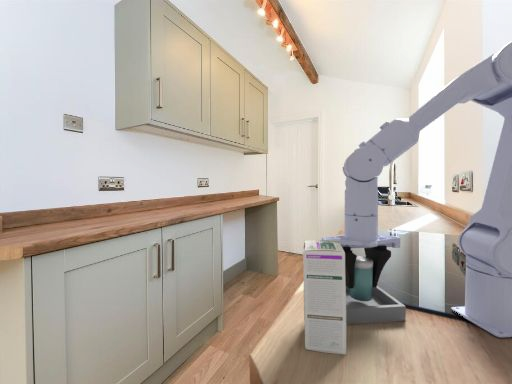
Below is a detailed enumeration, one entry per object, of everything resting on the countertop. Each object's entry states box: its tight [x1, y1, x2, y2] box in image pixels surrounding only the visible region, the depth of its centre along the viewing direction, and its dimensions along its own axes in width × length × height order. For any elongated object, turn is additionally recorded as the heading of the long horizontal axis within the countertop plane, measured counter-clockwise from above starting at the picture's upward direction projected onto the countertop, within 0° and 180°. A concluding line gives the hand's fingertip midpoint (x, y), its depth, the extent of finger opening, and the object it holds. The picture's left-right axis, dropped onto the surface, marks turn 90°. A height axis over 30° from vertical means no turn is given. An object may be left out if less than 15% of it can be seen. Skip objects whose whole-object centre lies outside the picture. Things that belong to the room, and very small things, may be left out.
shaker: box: [349, 255, 373, 301], centre depth 44 cm, size 4×4×7 cm
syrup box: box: [302, 239, 347, 356], centre depth 35 cm, size 6×6×14 cm
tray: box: [346, 285, 407, 325], centre depth 44 cm, size 10×10×2 cm
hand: (360, 285), depth 44 cm, fingers closed on shaker, 4 cm apart
